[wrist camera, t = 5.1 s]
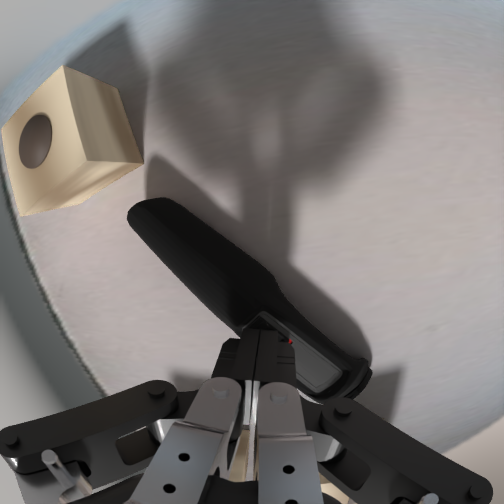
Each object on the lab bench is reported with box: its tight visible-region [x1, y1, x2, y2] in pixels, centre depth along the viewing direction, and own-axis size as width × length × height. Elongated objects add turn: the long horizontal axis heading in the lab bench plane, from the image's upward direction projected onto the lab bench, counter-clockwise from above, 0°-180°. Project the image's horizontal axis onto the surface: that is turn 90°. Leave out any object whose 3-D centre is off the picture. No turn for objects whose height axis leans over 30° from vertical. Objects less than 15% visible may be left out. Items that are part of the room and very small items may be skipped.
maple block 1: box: [1, 65, 144, 217], centre depth 11 cm, size 5×5×5 cm
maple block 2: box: [229, 430, 250, 482], centre depth 16 cm, size 5×5×5 cm
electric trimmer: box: [127, 198, 372, 404], centre depth 14 cm, size 4×16×3 cm, turn 47°
